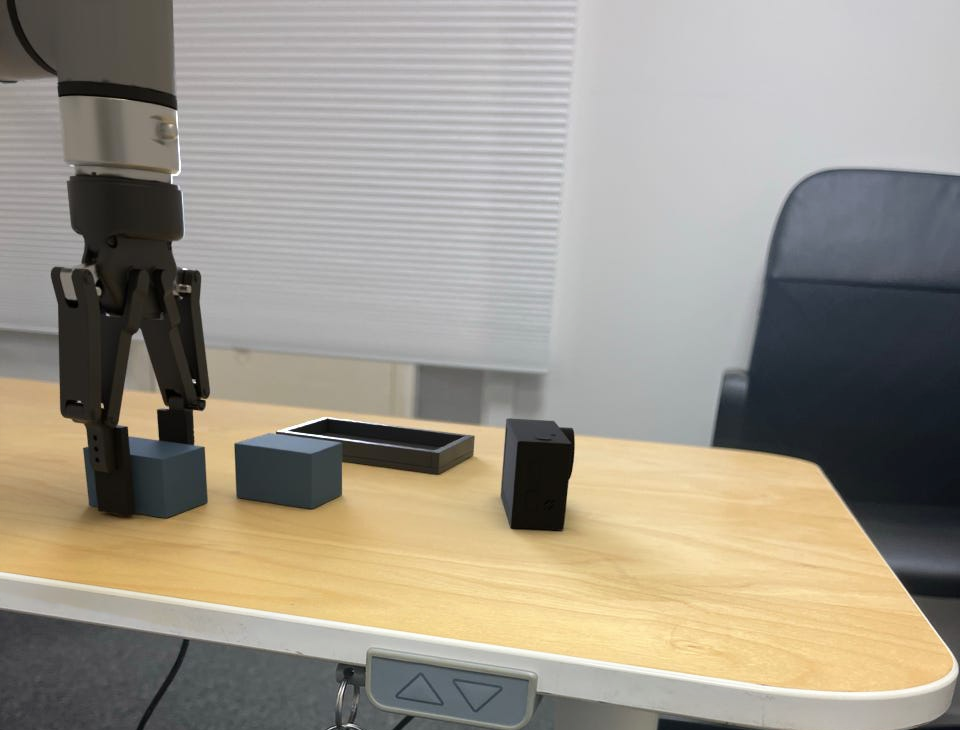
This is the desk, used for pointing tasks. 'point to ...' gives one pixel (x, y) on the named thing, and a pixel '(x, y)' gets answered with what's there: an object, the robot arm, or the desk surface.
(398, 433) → the tray
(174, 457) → the blue block
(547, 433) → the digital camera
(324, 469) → the blue-grey rectangular block
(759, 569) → the desk surface
